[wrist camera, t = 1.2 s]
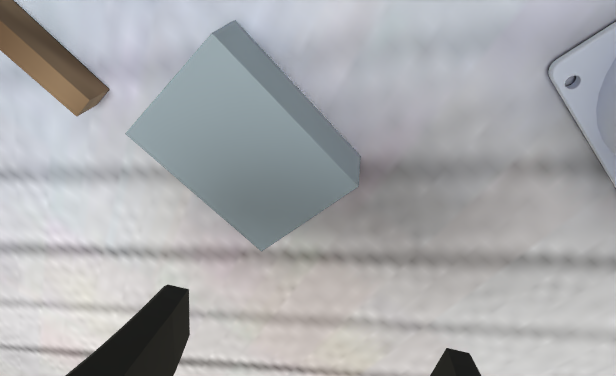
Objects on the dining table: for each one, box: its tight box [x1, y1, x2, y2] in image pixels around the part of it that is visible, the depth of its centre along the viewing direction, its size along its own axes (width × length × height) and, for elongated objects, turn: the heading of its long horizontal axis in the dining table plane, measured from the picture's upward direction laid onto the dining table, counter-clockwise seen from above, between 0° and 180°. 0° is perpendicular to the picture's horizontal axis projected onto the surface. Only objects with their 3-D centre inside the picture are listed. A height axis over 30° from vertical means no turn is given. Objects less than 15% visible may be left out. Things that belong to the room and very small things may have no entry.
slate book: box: [125, 20, 361, 252], centre depth 17 cm, size 8×6×3 cm
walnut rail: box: [0, 0, 109, 116], centre depth 17 cm, size 8×1×2 cm, turn 42°
